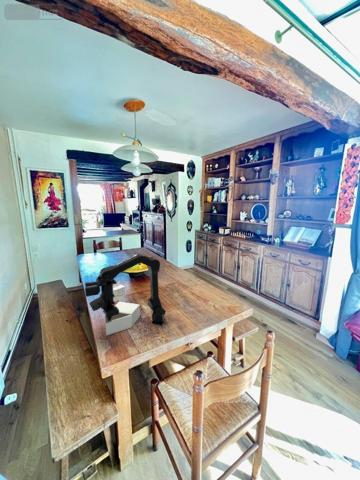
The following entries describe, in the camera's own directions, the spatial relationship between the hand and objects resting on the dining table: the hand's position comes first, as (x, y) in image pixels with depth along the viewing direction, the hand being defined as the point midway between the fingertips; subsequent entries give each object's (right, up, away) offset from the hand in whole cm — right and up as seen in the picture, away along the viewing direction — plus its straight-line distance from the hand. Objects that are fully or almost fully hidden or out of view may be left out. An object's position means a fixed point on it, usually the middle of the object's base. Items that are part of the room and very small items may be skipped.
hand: (108, 319), depth 106 cm
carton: (+4, -6, +16) cm, 18 cm away
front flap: (+4, -8, +5) cm, 10 cm away
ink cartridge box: (-6, -2, +36) cm, 37 cm away
